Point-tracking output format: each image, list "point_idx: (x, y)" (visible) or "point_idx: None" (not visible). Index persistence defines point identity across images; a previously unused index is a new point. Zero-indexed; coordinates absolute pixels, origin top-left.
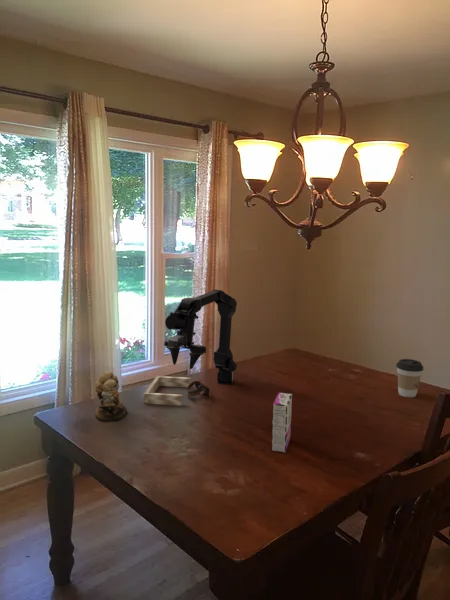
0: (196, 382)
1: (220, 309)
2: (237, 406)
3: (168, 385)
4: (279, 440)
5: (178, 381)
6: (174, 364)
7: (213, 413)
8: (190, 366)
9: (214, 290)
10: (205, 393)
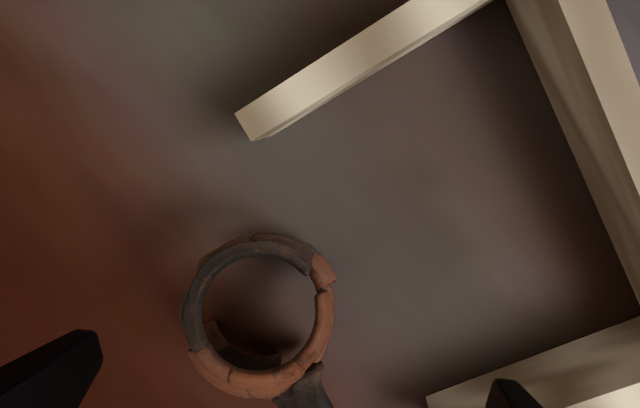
0: (279, 366)
1: None
2: (23, 302)
3: (574, 345)
4: None
5: None
6: (491, 386)
7: (31, 137)
8: (30, 355)
9: None
10: (270, 356)
